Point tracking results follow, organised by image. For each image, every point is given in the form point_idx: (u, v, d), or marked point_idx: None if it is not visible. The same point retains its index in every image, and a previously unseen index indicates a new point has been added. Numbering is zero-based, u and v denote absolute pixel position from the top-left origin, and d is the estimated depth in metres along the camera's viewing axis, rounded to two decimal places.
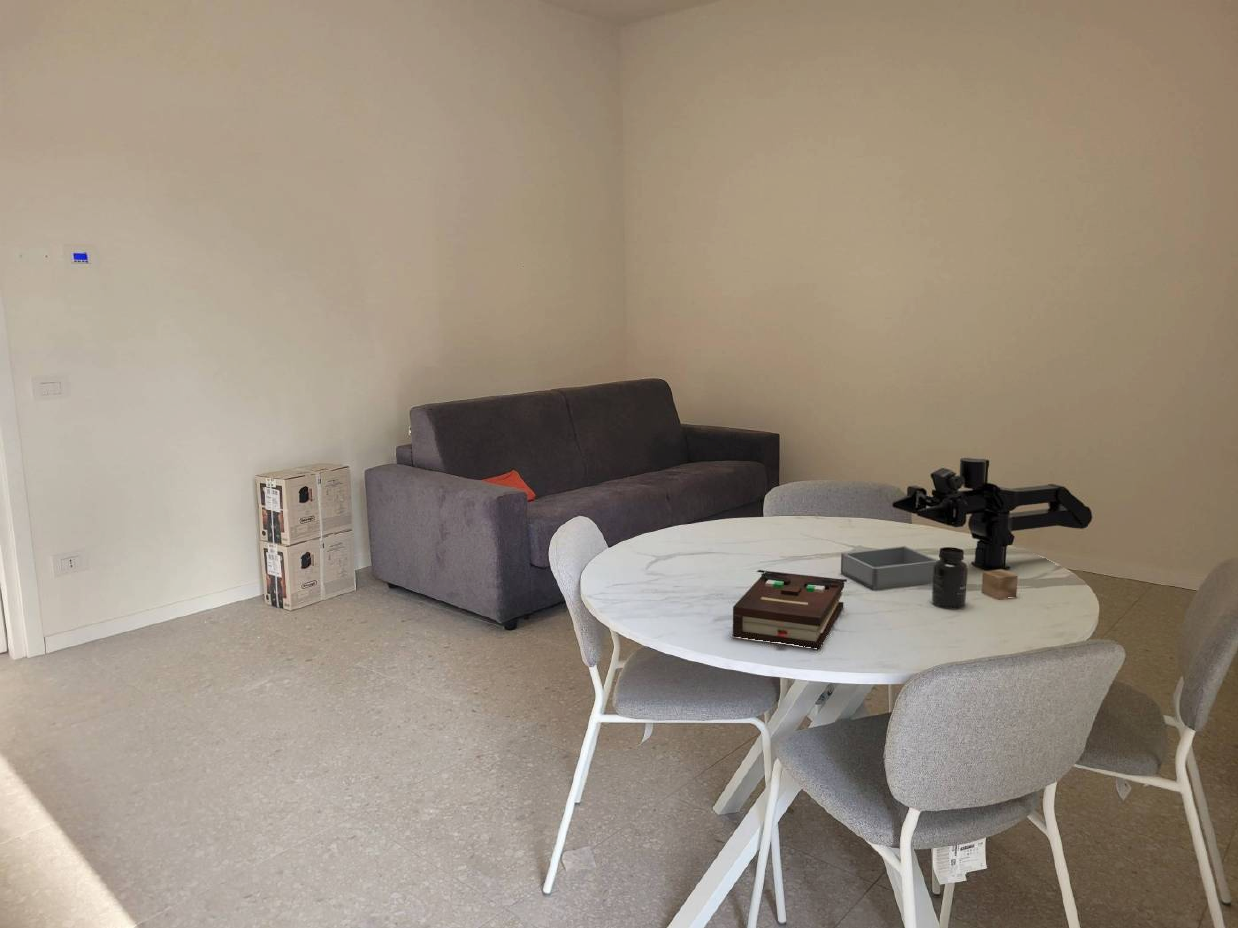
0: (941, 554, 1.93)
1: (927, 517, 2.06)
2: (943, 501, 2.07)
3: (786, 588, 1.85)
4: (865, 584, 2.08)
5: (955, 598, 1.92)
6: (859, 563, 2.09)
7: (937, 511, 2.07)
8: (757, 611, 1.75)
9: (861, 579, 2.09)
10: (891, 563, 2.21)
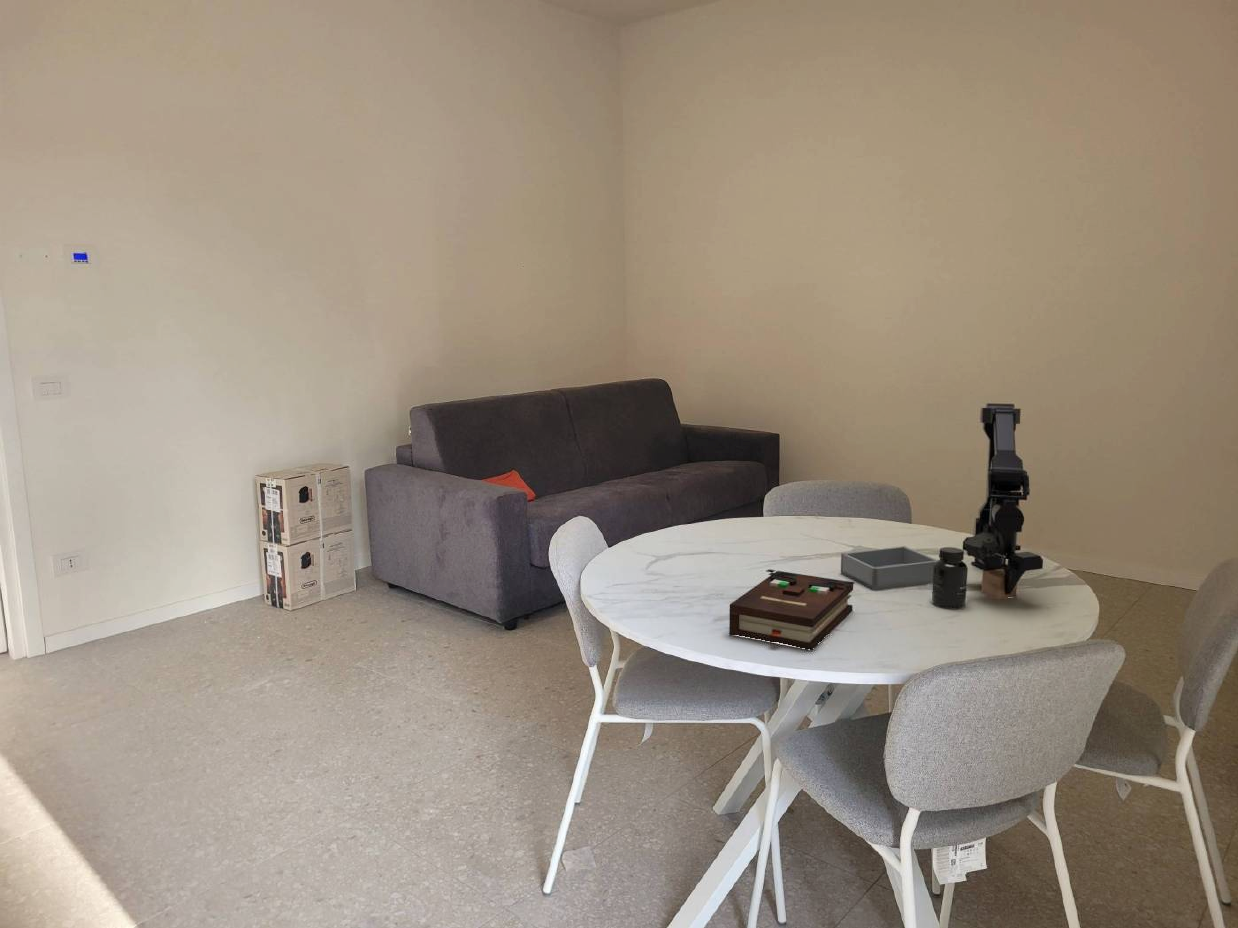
0: (941, 554, 1.93)
1: (1014, 584, 1.97)
2: (1004, 569, 1.95)
3: (788, 588, 1.85)
4: (865, 584, 2.08)
5: (955, 598, 1.92)
6: (859, 563, 2.09)
7: (1012, 574, 1.96)
8: (752, 609, 1.76)
9: (861, 579, 2.09)
10: (891, 563, 2.21)
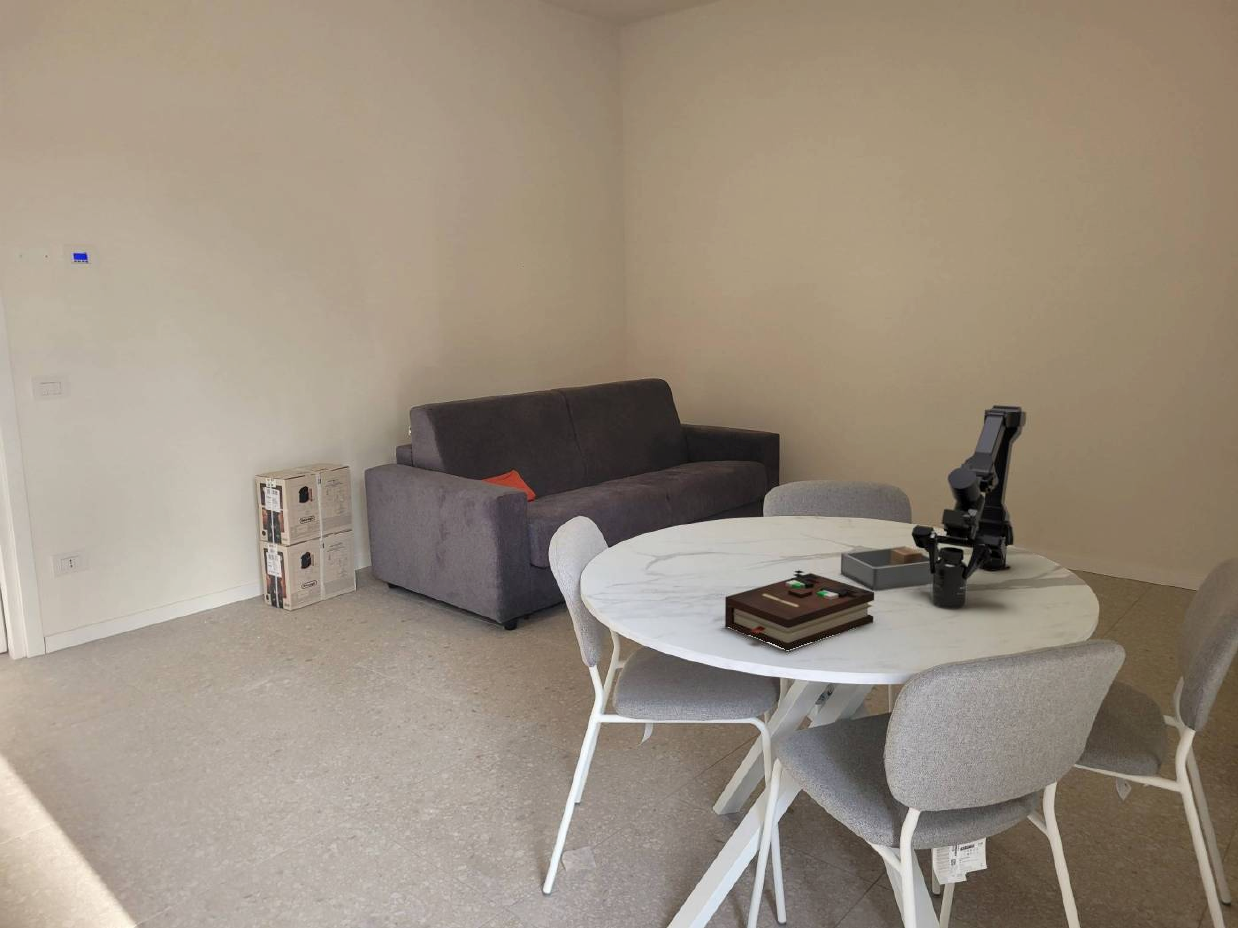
0: (941, 554, 1.93)
1: (972, 572, 1.92)
2: (975, 548, 1.91)
3: (796, 589, 1.84)
4: (865, 584, 2.08)
5: (955, 598, 1.92)
6: (859, 563, 2.09)
7: None
8: (742, 604, 1.79)
9: (861, 579, 2.09)
10: None
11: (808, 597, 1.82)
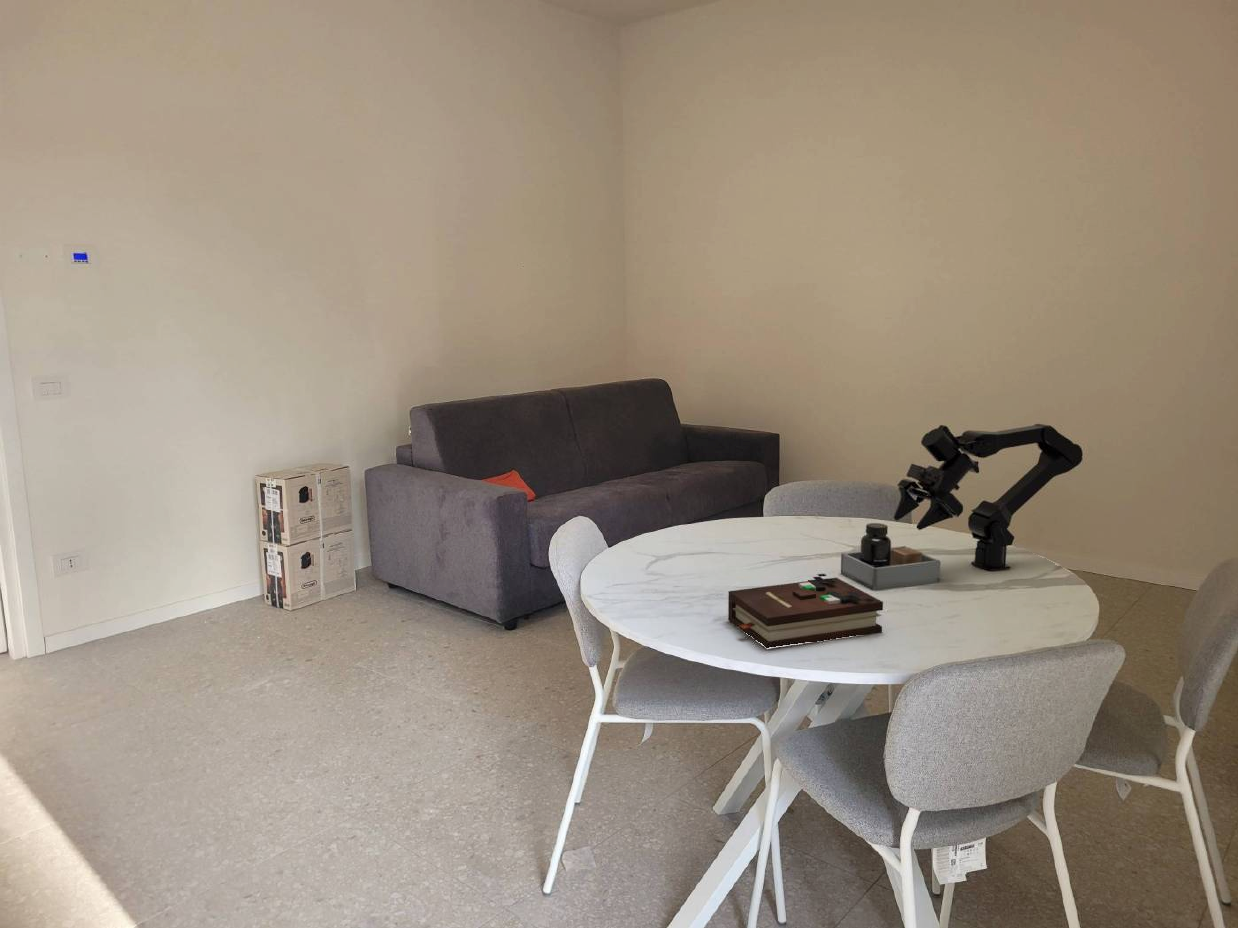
0: None
1: (928, 525, 2.08)
2: (932, 502, 2.07)
3: (800, 591, 1.83)
4: (865, 584, 2.08)
5: None
6: (859, 563, 2.09)
7: (933, 514, 2.08)
8: (738, 599, 1.82)
9: (861, 579, 2.09)
10: None
11: (809, 599, 1.80)
